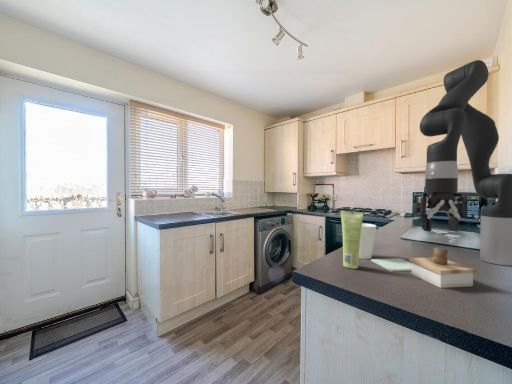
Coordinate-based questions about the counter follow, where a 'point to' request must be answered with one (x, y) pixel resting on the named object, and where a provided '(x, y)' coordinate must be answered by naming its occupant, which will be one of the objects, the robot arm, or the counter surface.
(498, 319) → the counter surface
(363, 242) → the foam cup
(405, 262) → the mat
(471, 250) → the counter surface
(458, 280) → the dish
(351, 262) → the tube
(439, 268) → the lid
